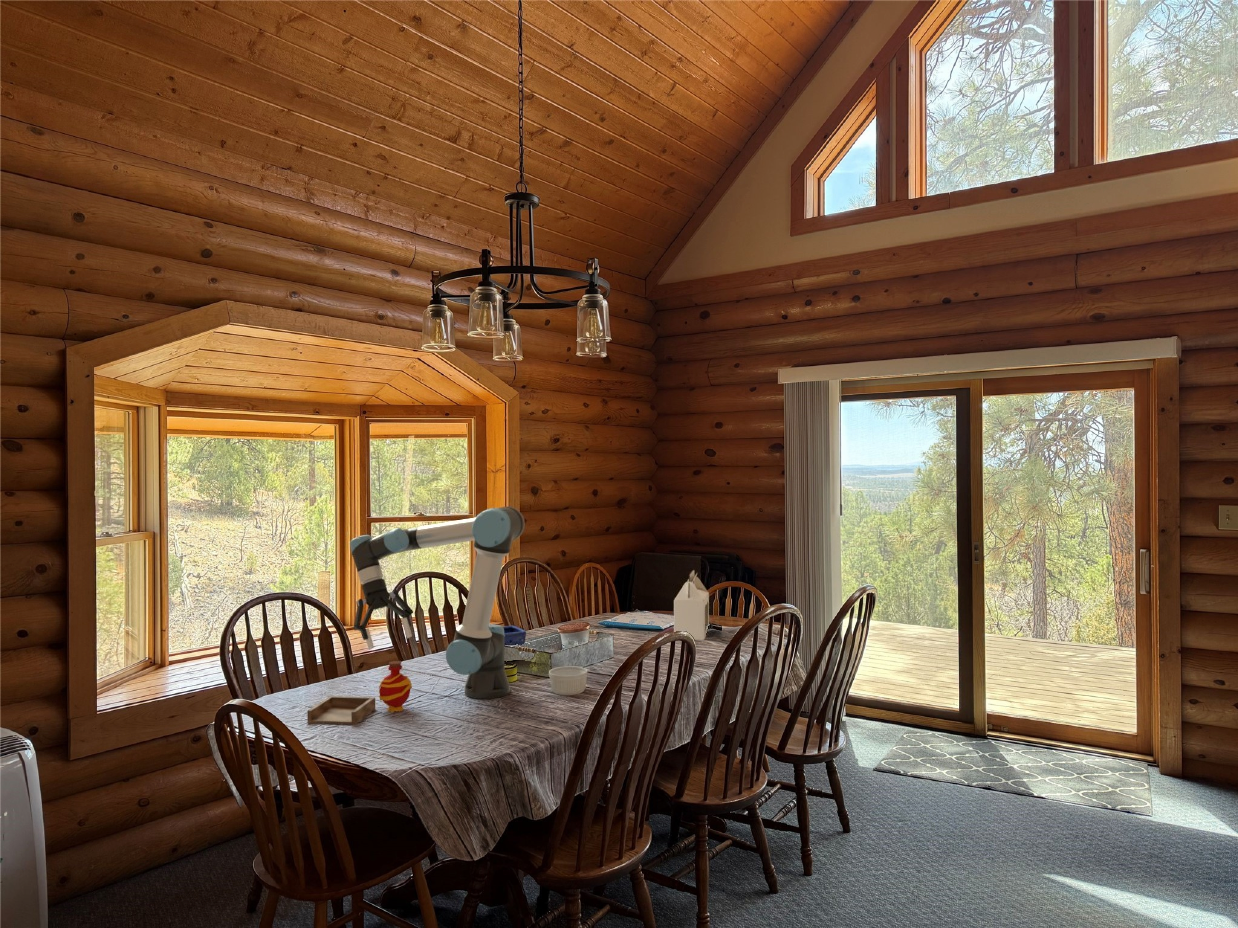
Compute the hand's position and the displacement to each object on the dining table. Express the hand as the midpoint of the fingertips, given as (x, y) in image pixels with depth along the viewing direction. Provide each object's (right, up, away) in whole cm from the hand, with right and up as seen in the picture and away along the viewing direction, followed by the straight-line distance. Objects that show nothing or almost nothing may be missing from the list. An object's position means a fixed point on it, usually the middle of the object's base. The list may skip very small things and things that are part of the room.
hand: (390, 642), depth 270 cm
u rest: (-11, -19, -15) cm, 27 cm away
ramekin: (+57, -19, +12) cm, 62 cm away
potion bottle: (+4, -19, -9) cm, 22 cm away
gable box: (+108, -18, +100) cm, 148 cm away
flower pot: (+30, -19, +55) cm, 65 cm away
